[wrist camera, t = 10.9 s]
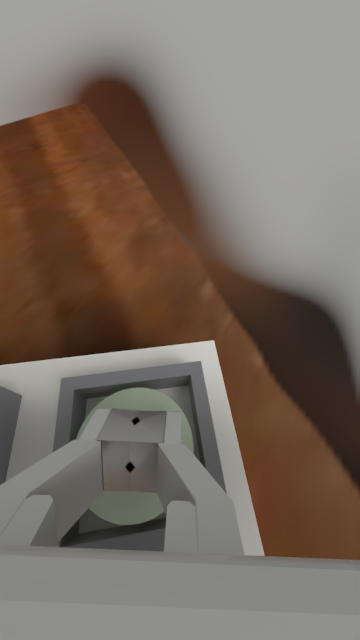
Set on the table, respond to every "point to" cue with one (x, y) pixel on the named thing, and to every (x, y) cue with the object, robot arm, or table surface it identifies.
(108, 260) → the table surface
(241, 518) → the button console
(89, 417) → the sage button
